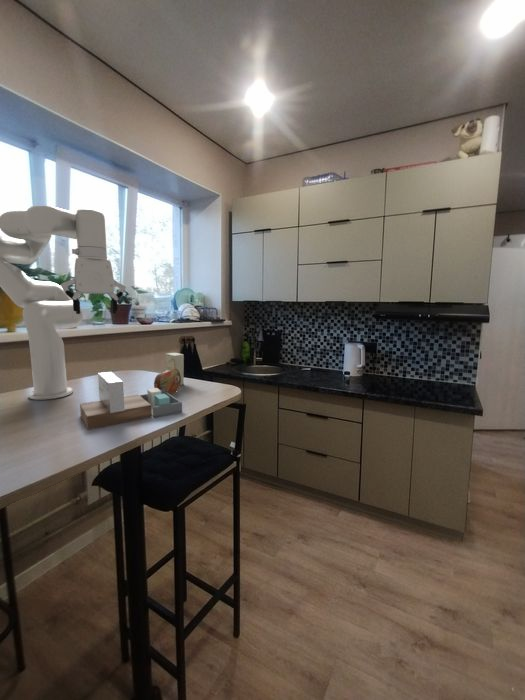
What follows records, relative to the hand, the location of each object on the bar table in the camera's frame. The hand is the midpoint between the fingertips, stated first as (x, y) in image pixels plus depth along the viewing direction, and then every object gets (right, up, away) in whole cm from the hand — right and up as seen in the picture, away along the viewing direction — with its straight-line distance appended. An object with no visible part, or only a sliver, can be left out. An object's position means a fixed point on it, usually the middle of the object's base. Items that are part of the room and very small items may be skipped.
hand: (96, 313), depth 98 cm
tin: (+17, -27, +16) cm, 35 cm away
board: (+9, -30, -6) cm, 32 cm away
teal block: (+19, -27, -4) cm, 33 cm away
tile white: (+15, -26, +3) cm, 30 cm away
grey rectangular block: (+8, -26, -7) cm, 28 cm away
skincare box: (+16, -25, +29) cm, 41 cm away
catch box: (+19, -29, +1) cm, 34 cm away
